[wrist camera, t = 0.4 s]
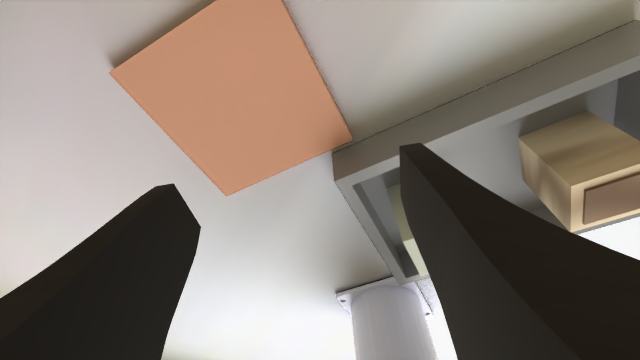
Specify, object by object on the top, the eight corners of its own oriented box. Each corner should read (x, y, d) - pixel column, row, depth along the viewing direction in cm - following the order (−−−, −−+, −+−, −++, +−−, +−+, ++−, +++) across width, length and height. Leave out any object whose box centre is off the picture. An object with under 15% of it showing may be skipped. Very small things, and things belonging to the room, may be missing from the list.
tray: (613, 185, 22) (649, 213, 20) (392, 256, 27) (399, 285, 25) (635, 20, 15) (693, 32, 13) (331, 154, 20) (334, 181, 18)
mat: (351, 135, 19) (352, 139, 19) (228, 190, 22) (226, 196, 21) (265, -33, 14) (264, -33, 13) (114, 69, 16) (108, 72, 16)
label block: (585, 158, 20) (653, 210, 16) (523, 180, 21) (572, 234, 17) (587, 110, 18) (667, 157, 14) (518, 137, 19) (573, 188, 15)
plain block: (453, 204, 23) (482, 258, 19) (402, 222, 24) (420, 276, 20) (441, 167, 21) (471, 219, 17) (386, 188, 22) (402, 241, 18)
